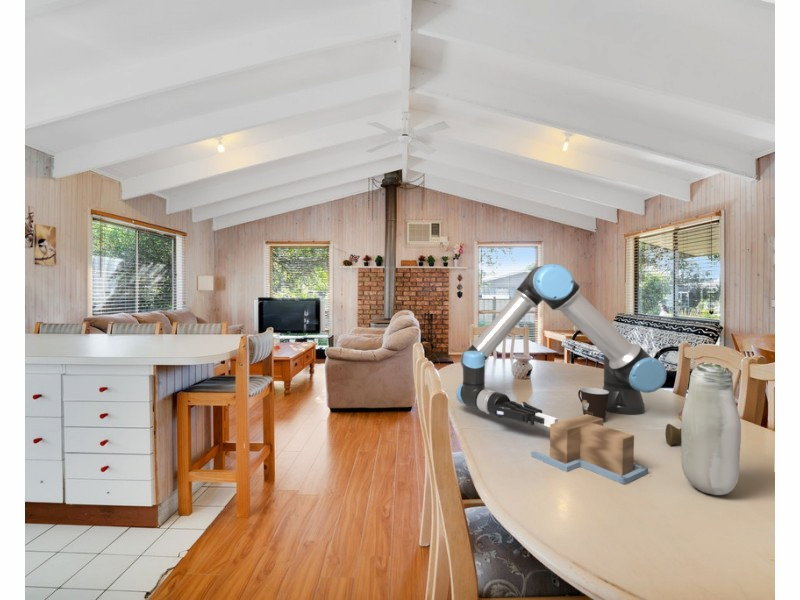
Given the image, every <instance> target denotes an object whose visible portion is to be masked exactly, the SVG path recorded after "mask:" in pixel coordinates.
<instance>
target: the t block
mask: <svg viewBox="0 0 800 600" xmlns="http://www.w3.org/2000/svg"><path fill="white" fill-rule="evenodd" d="M549 428H550V430H549V431H550V432H549V434H550V436H549V437H550V439H549V441H550V442H549V457H550V458H553V459H555V460H557V461H560V462H562V463H564V464H567V463H570V462H572V461H575V460H578V459H581V460H583V461H586V462H588V463H591V464H593V465H596V466H598V467H601V468H603V469H606V470H608V471H611V472H613V473H616V474H618V475H621V476H623V475H626V474H628V473H630V472H632V471H634V470H633V466H634V464H635V461H634V458H635V451H634V450H635V435H633V434H631V433H628V432H624V431H621V430H617V429H614V428H610V427H608V426H604V423H603V419H602V418H599V417H595V416H592V415H588V414H585V415H583V414H582V415H579V416H575V417H572V418H568V419H565V420H564V419H563V420H561V421H558V422H557V423H554V424H550V427H549Z"/></svg>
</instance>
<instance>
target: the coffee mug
mask: <svg viewBox="0 0 800 600" xmlns="http://www.w3.org/2000/svg"><path fill="white" fill-rule="evenodd" d="M577 396H578V399H579V400H580V403H581V404H582V415H585V414H588V415H592V416H595V417H599V418H602V419H603V424H604V423H605V422H606V415H607V403H608V396H609V391H607V390H604V389H603V388H599V387H583V388H580V389H579V391H578V393H577Z"/></svg>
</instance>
